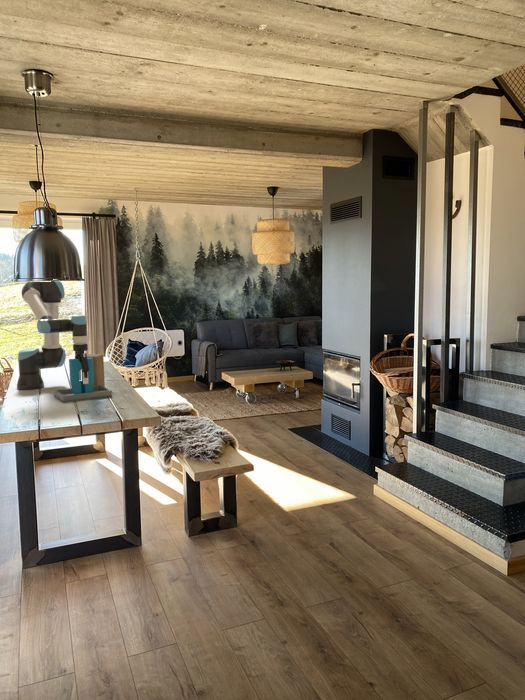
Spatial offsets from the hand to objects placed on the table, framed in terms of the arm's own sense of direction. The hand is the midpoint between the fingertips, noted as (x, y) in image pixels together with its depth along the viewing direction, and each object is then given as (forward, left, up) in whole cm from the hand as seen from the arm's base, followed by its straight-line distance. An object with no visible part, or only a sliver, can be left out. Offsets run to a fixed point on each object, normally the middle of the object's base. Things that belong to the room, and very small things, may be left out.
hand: (82, 381), depth 307 cm
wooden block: (-20, +12, -8) cm, 25 cm away
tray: (0, 0, -8) cm, 8 cm away
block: (0, 0, -7) cm, 7 cm away
